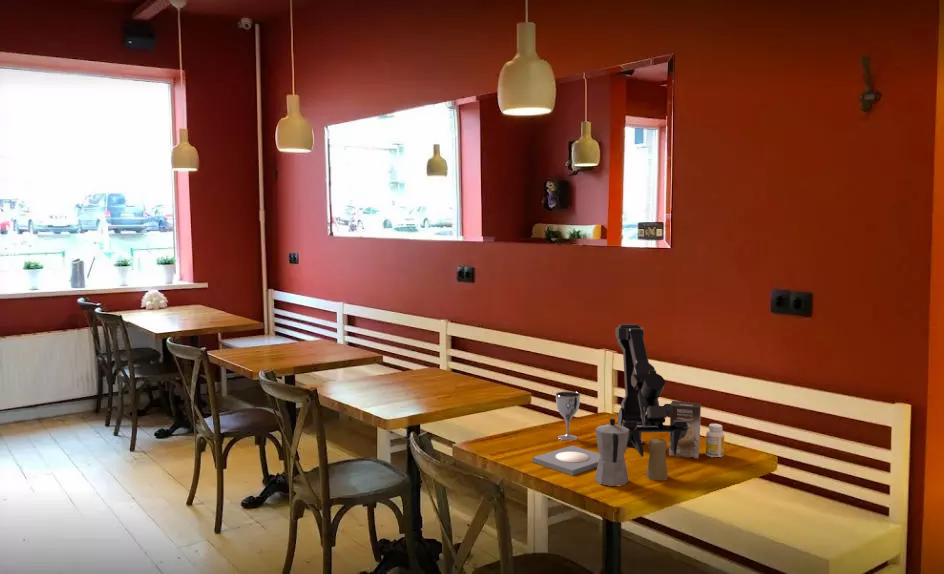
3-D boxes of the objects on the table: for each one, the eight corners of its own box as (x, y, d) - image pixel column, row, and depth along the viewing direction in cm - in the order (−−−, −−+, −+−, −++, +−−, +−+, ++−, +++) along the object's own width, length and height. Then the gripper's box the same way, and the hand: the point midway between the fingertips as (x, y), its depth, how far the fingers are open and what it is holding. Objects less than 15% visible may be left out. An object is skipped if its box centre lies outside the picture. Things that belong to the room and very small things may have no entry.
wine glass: (555, 434, 266) (556, 391, 265) (579, 435, 265) (580, 391, 264) (555, 441, 258) (555, 396, 257) (579, 441, 257) (579, 397, 256)
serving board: (572, 450, 248) (572, 444, 248) (612, 462, 236) (612, 456, 236) (532, 462, 237) (532, 456, 236) (572, 475, 225) (572, 469, 224)
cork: (666, 474, 226) (667, 436, 225) (669, 481, 220) (670, 442, 219) (645, 473, 226) (645, 436, 225) (647, 480, 220) (648, 442, 219)
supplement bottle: (711, 458, 240) (712, 428, 239) (702, 453, 245) (703, 423, 244) (727, 457, 241) (728, 427, 240) (718, 452, 246) (718, 422, 245)
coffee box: (668, 455, 243) (669, 405, 241) (669, 449, 249) (671, 400, 247) (698, 458, 240) (700, 407, 238) (700, 452, 246) (701, 402, 244)
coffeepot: (592, 473, 227) (593, 412, 225) (625, 473, 226) (626, 412, 224) (597, 492, 211) (598, 426, 210) (632, 492, 211) (633, 427, 209)
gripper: (622, 393, 225) (630, 442, 215) (687, 393, 225) (698, 441, 215) (616, 413, 233) (624, 461, 223) (679, 413, 234) (689, 460, 224)
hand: (658, 455), depth 221 cm, fingers open, 9 cm apart
